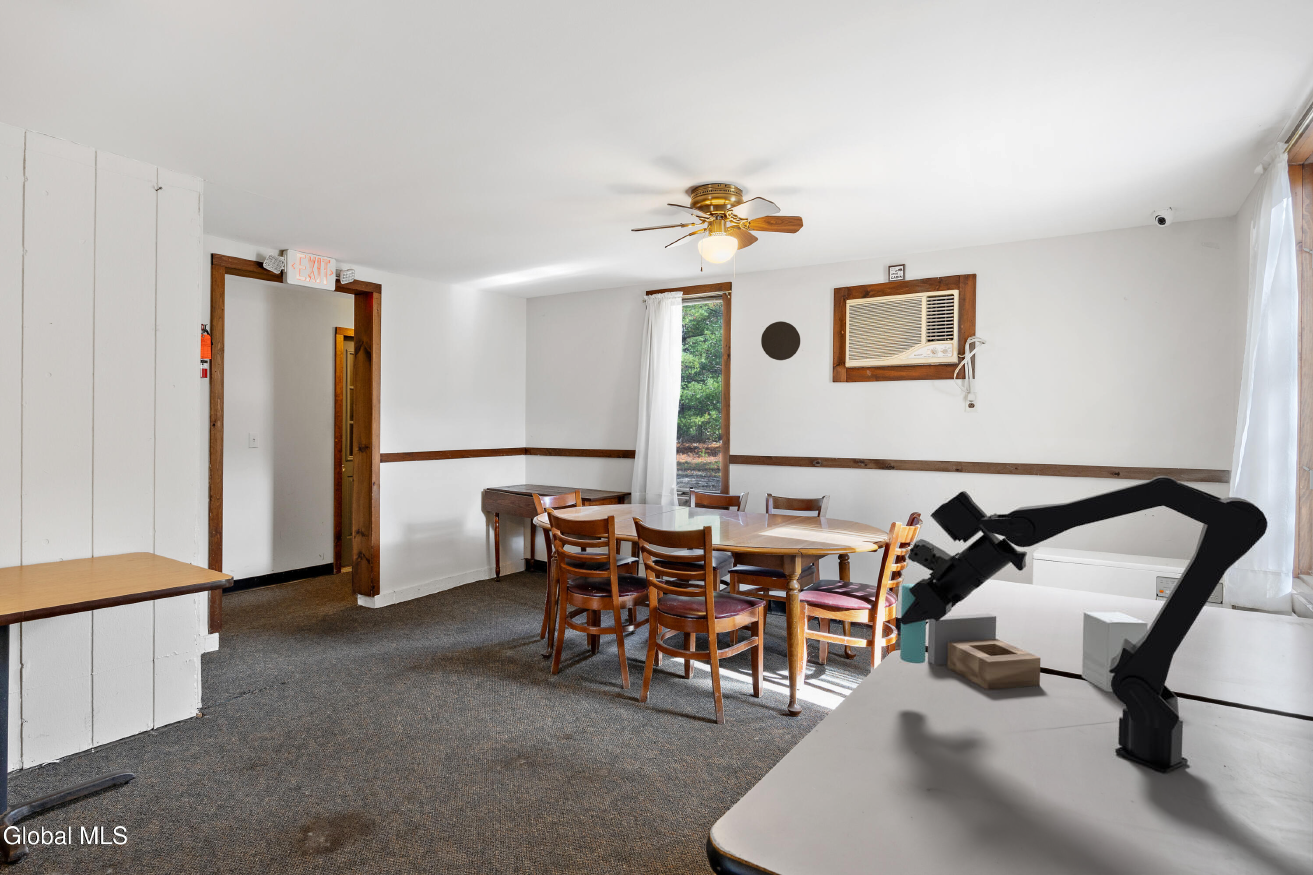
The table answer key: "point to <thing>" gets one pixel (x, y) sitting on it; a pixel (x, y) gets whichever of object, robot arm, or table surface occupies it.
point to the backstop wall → (957, 633)
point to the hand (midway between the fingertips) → (905, 619)
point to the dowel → (911, 632)
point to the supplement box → (1106, 643)
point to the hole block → (994, 664)
